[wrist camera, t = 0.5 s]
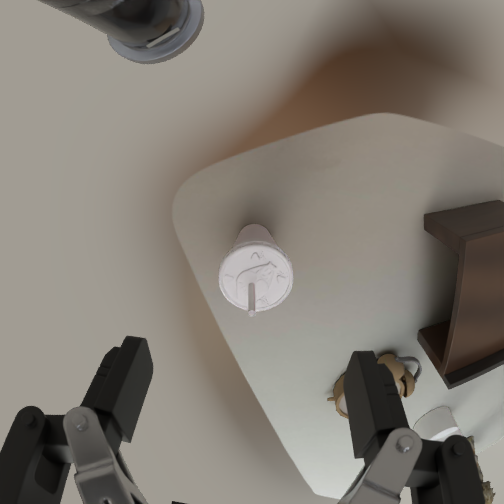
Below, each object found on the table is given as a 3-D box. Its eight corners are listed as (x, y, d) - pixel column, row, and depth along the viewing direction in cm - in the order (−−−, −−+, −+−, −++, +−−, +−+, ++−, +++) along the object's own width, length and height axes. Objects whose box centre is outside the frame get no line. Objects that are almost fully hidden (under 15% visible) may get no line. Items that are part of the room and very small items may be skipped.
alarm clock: (320, 402, 42) (411, 359, 36) (319, 377, 46) (403, 334, 40) (354, 427, 45) (434, 391, 39) (352, 404, 49) (427, 369, 43)
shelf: (423, 214, 34) (477, 249, 23) (498, 199, 33) (552, 225, 22) (417, 340, 41) (448, 390, 31) (484, 315, 40) (519, 355, 30)
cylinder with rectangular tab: (451, 400, 49) (474, 442, 38) (446, 422, 52) (465, 460, 41) (414, 417, 50) (434, 462, 39) (412, 437, 53) (428, 478, 42)
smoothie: (213, 241, 35) (194, 310, 22) (253, 199, 33) (255, 249, 20) (255, 275, 37) (258, 356, 24) (295, 238, 35) (320, 305, 22)
